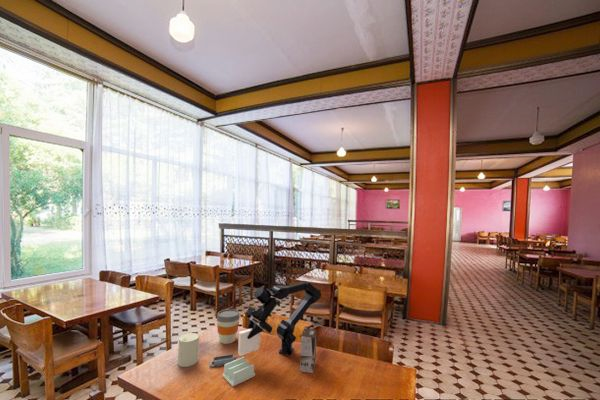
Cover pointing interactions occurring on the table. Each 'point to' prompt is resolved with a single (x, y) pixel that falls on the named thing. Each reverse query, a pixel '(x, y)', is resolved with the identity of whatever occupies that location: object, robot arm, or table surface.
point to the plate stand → (222, 360)
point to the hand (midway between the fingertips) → (246, 337)
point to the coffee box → (308, 350)
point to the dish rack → (238, 371)
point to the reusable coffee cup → (227, 325)
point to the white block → (247, 342)
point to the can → (188, 349)
